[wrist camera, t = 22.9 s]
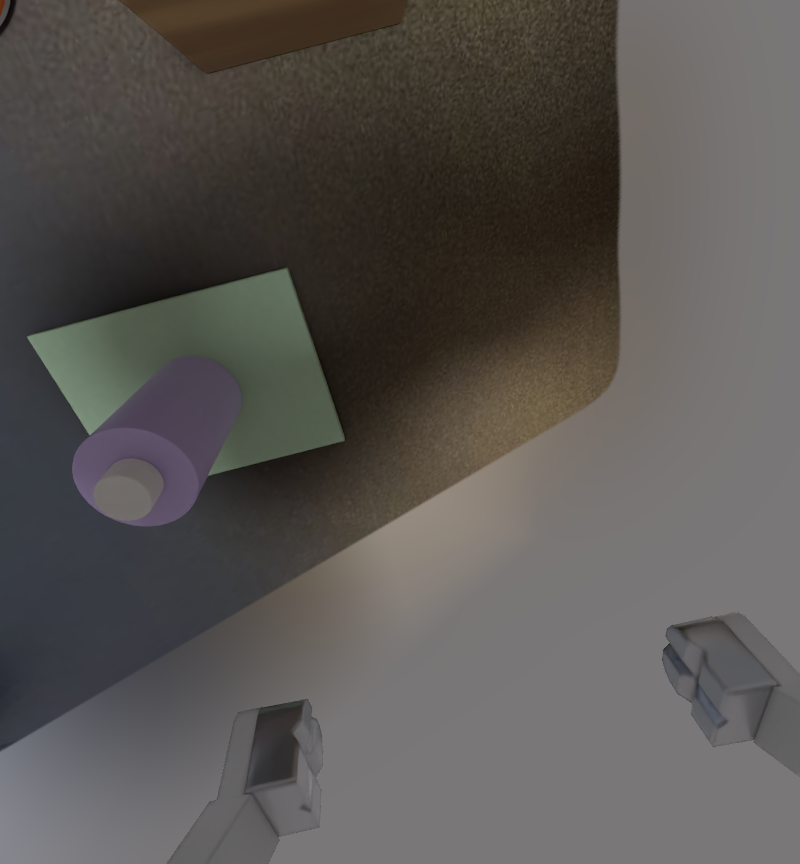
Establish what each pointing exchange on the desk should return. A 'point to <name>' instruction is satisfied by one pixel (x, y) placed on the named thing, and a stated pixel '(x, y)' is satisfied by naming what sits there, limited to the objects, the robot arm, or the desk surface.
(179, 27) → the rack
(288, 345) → the mat
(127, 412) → the lotion bottle
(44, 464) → the desk surface
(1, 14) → the pill bottle
